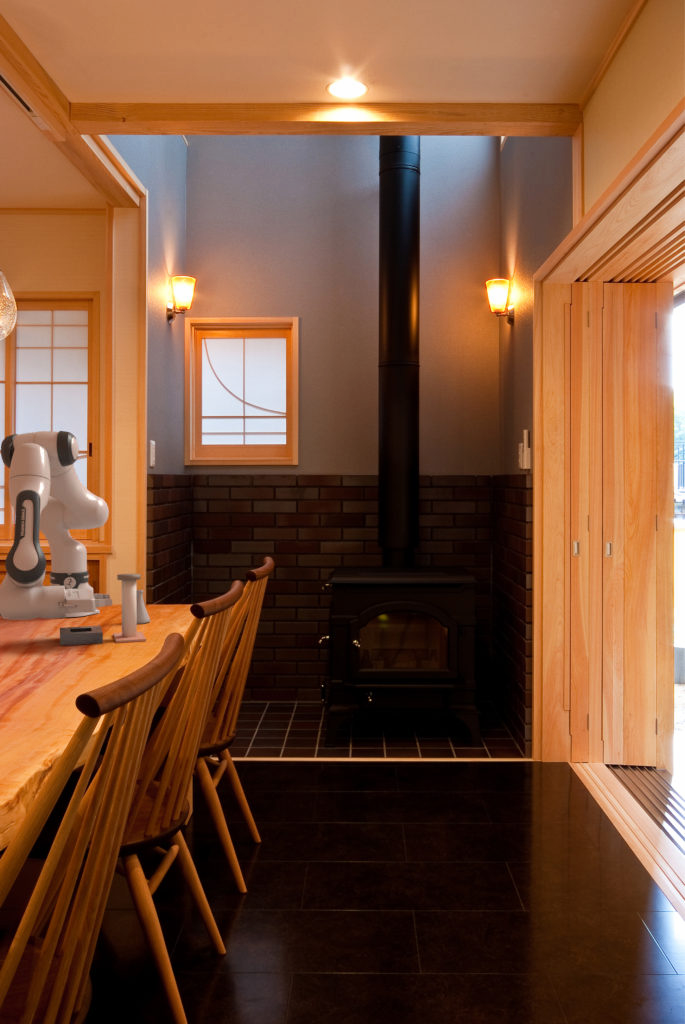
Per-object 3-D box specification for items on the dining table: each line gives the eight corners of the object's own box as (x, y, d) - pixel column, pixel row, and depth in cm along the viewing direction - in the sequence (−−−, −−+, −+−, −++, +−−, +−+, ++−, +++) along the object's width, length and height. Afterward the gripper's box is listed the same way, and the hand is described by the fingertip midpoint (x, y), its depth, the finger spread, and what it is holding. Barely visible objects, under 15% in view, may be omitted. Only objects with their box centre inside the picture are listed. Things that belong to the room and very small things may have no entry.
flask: (145, 624, 266) (144, 592, 266) (122, 624, 267) (122, 591, 267) (154, 620, 273) (153, 589, 273) (132, 620, 274) (132, 588, 274)
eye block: (59, 638, 243) (59, 627, 243) (100, 636, 247) (100, 625, 247) (60, 645, 233) (60, 634, 233) (102, 643, 236) (102, 632, 236)
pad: (113, 635, 248) (113, 633, 248) (141, 633, 251) (141, 631, 251) (116, 642, 237) (116, 640, 237) (146, 641, 239) (146, 639, 239)
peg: (116, 634, 246) (116, 574, 245) (139, 633, 248) (139, 573, 247) (118, 638, 240) (118, 576, 239) (142, 637, 242) (141, 575, 241)
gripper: (58, 595, 227) (113, 593, 232) (58, 586, 247) (108, 584, 251) (59, 619, 228) (113, 616, 232) (58, 608, 247) (108, 605, 251)
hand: (110, 599), depth 242 cm, fingers open, 8 cm apart
